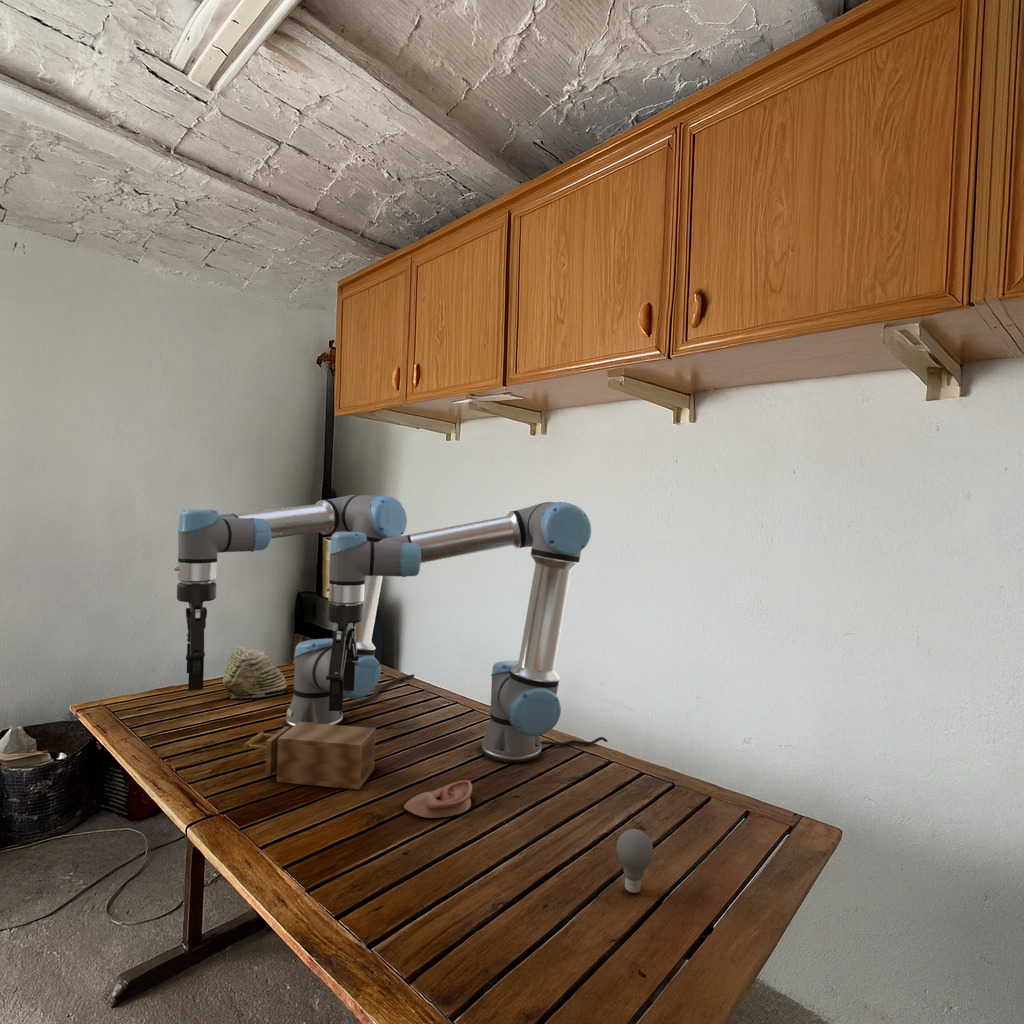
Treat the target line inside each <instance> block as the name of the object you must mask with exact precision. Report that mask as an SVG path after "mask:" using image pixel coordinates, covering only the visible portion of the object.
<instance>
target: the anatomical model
mask: <svg viewBox="0 0 1024 1024" xmlns="http://www.w3.org/2000/svg"><path fill="white" fill-rule="evenodd" d="M472 793H473V785H472V782H471V781H470V780H468V779H466V780H464V779H463V780H458V781H455V782H453V783H449V784H446V785H444V786H441V787H440V788H437V789H434V790H432V791H425V792H422V793H419V794H416V795H415V796H414V797H412V798H410V799H409V800H407V801H406V802H405V804H403V808H404V810H406V811H408V812H409V813H411V814H413V815H415V816H418V817H421V818H424V819H437V818H447V817H452V816H457V815H460V814H462V813H465V812H467V811H468V810H469V809H470V808H471V806H472V801H471V798H470V797H471V796H472Z"/></svg>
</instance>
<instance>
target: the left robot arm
mask: <svg viewBox="0 0 1024 1024" xmlns="http://www.w3.org/2000/svg"><path fill="white" fill-rule="evenodd" d="M407 524H408V517H407V512H406V509H405V508H404V506H403V504H402V502H400V501H399V500H398V499H397V498H395V497H392V496H387V495H380V494H379V495H377V494H376V495H374V494H373V495H372V494H371V495H370V494H369V495H368V494H350V495H344V496H339V497H335V498H329V499H320V500H317V502H315V504H307V505H298V506H289V507H278V508H270V509H261V510H251V511H240V512H232V513H225V514H219V512H218V510H216V509H211V508H210V509H207V508H186V509H182V510H181V511H180V513H179V518H178V525H177V527H178V528H177V534H178V535H177V536H178V537H177V565H176V566H174V568H173V570H174V571H175V572H177V580H178V581H179V582H178V583H177V584H176V600H177V601H178V602H181V603H188V607H185V619H186V624H187V625H186V627H187V633H186V637H187V638H186V639H187V640H186V642H187V643H186V655H185V660H186V674H188V684H187V685H188V687H187V688H188V689H187V692H190V691H191V692H192V691H201V690H202V691H203V690H204V672H205V671H204V669H205V656H206V652H205V629H206V628H207V618H208V609H207V607H206V606H205V607H204V602H205V603H206V602H211V601H214V600H215V599H216V598H217V583H216V582H215V581H216V580H217V579H218V555H219V553H221V554H222V553H237V552H238V553H239V552H240V553H243V552H252V553H254V552H257V551H263V550H266V549H267V548H268V547H269V545H270V544H271V541H272V539H278V538H279V539H280V538H286V537H292V536H301V535H307V534H315V533H319V534H321V535H324V536H325V535H333V534H334V533H336V532H361V533H365V534H366V539H367V541H370V542H379V541H380V540H382V539H383V538H387V537H399V536H403V535H404V534H405V531H406V529H407V526H408V525H407ZM383 577H384V576H365V578H364V580H365V581H364V583H365V589H364V601H363V602H361V603H362V604H363V605H364V607H363V620H362V621H360V622H358V623H356V644H357V656H359V661H353V662H355V681H354V691H344V693H343V699H350V700H355V701H351V702H347V703H343V709H345V708H349V707H351V706H356V705H360V704H364V703H366V702H368V701H369V702H370V701H371V700H372V699H374V698H376V695H378V694H379V693H381V691H382V690H384V689H385V688H386V687H389V686H390V685H392V684H395V683H398V682H401V681H403V680H407V679H412V678H414V677H415V673H412V674H409V675H405V676H402V677H398V678H395V679H393V680H392V679H391V680H390V681H388V682H386V683H384V684H383V685H381V686H380V687H379V688H377V690H376V691H374V689H375V688H376V687H377V685H378V684H379V681H380V677H381V673H382V668H381V665H380V662H379V661H378V659H377V658H376V657H375V655H376V649H377V647H376V646H375V644H374V643H373V641H372V639H373V634H374V628H375V623H376V617H377V611H378V606H379V599H380V594H381V589H382V583H383ZM332 642H333V638H317V639H316V638H315V639H308V640H304V641H300V642H299V643H298V644H297V645H296V646H295V650H294V655H293V657H294V672H293V673H294V674H293V695H292V696H293V697H292V699H291V702H290V704H289V707H288V708H287V710H286V715H285V726H288V727H290V728H292V727H293V726H294V725H296V724H297V723H298V722H305V723H317V724H330V725H342V723H343V722H344V713H343V710H342V711H329V694H330V680H326V676H328V673H329V666H330V658H331V650H332ZM345 662H346V661H345ZM335 673H337V672H335ZM372 691H374V693H372V694H371V695H369V694H370V693H371V692H372ZM368 695H369V696H368ZM367 696H368V697H367Z"/></svg>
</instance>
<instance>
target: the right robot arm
mask: <svg viewBox="0 0 1024 1024" xmlns="http://www.w3.org/2000/svg"><path fill="white" fill-rule="evenodd" d="M591 536H592V523H591V520H590V518H589V516H588V515H587V513H586V511H584V510H583V509H582V508H581V507H579V506H578V505H576V504H573V503H570V502H567V501H566V502H563V501H558V502H555V501H554V502H553V501H545V502H541V503H537V504H534V505H531V506H528V507H524V508H520V509H517V510H511V511H509V512H508V513H507V514H506V516H500V517H495V518H490V519H485V520H484V519H483V520H480V521H479V520H478V521H474V522H469V523H463V524H457V525H453V526H447V527H442V528H436V529H432V530H426V531H421V532H415V533H410V534H407V535H401V536H399V537H387V538H383V539H382V540H380V541H379V542H370V541H367V539H366V534H365V533H361V532H336V533H334V534H331V537H330V547H329V563H328V564H329V567H328V568H329V569H328V586H326V588H325V591H326V592H328V598H327V600H328V601H329V602H330V603H328V604H327V621H328V622H330V623H333V624H334V623H335V624H336V630H333V631H332V639H333V642H332V650H331V658H330V666H329V673H328V676H326V680H330V694H329V711H342V712H343V711H344V708H343V704H344V698H343V693H344V691H354V681H355V662H353V661H359V656H357V644H356V623H358V622H360V621H362V620H363V607H364V605H363V604H362V603H361V602H363V601H364V589H365V583H364V581H365V580H364V578H365V576H383V577H402V578H407V577H417V576H418V575H419V574H420V573H421V566H422V564H426V563H430V562H435V561H441V560H446V559H451V558H456V557H461V556H466V555H470V554H476V553H481V552H487V551H492V550H497V549H502V548H508V547H513V548H515V549H517V550H518V549H523V548H531V549H530V550H531V551H530V557H531V558H532V560H533V561H534V563H535V565H534V571H533V576H532V582H531V586H530V588H531V589H530V594H529V598H528V599H529V600H528V605H527V606H528V607H527V611H526V617H525V622H524V629H523V634H522V640H521V646H520V650H519V651H520V652H519V657H518V660H502V661H497V662H495V663H494V664H493V666H492V671H491V672H492V673H491V674H490V675H491V676H490V677H491V690H490V691H491V692H490V717H489V722H488V725H487V727H486V731H485V733H484V736H483V739H482V742H481V752H482V754H483V756H485V757H487V758H488V759H490V760H493V761H496V762H500V763H507V764H522V763H529V762H532V761H535V760H537V759H538V758H539V757H540V756H541V755H542V745H551V746H566V745H570V744H578V745H584V746H590V745H595V744H597V743H598V742H599V741H603V742H604V743H608V742H609V741H608V740H607V738H605V737H603V736H599V737H597V738H595V739H593V740H592V741H591V740H590V741H582V740H575V739H572V740H571V739H570V740H567V741H562V742H557V741H548V740H547V741H546V740H541V738H540V736H543V735H545V734H547V733H548V732H550V731H551V730H553V729H554V728H555V727H556V725H557V724H558V722H559V720H560V717H561V714H562V713H561V712H562V705H561V702H560V699H559V696H558V691H559V683H560V676H559V674H558V673H557V671H556V670H555V667H556V661H557V655H558V650H559V645H560V638H561V633H562V627H563V620H564V615H565V609H566V603H567V597H568V593H569V592H568V591H569V585H570V580H571V573H572V569H574V568H575V567H577V566H578V565H579V564H580V560H581V554H582V551H583V550H585V548H586V547H587V546H588V544H589V543H590V540H591ZM345 661H346V662H345ZM335 672H337V673H335Z"/></svg>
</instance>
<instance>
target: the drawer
mask: <svg viewBox="0 0 1024 1024" xmlns="http://www.w3.org/2000/svg"><path fill="white" fill-rule="evenodd" d="M289 729H290V727H288V726H286V725H285V726H283V727H282V728H281V729H279V730H278V731H277V732H276V733H274V734H273V733H265V732H264V731H260V732H259V733H257V734H256V735H255V736H253V737H252V738H250V739H249V740H248V741H247V742H245V743H244V744H242V749H244V750H249V749H256V750H265V768H264V769H265V770H264V775H265V776H271V775H272V774H273V773H275V772H277V755H278V738H279V737H280V736H282V735H283V734H284V733H285V732H287V731H288V730H289ZM263 738H268V739H267V740H265V745H262V744H256V743H258V742H259V741H260V740H261V739H263Z"/></svg>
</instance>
